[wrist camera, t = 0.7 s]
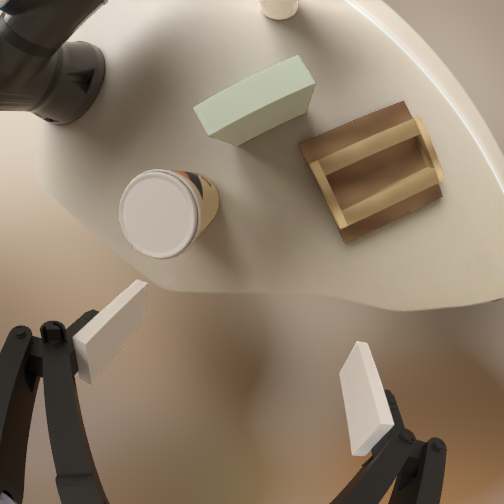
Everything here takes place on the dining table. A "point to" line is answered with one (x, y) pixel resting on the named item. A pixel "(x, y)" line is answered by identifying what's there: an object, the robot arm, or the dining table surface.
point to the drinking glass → (278, 8)
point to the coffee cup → (166, 211)
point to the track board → (374, 169)
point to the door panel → (258, 102)
